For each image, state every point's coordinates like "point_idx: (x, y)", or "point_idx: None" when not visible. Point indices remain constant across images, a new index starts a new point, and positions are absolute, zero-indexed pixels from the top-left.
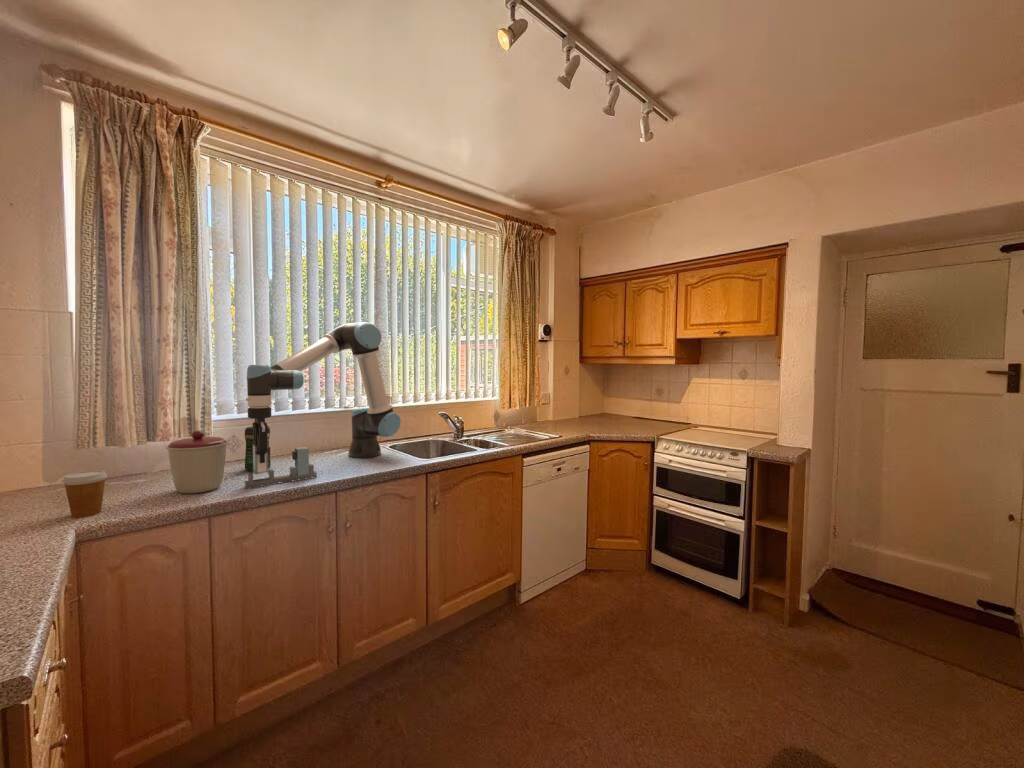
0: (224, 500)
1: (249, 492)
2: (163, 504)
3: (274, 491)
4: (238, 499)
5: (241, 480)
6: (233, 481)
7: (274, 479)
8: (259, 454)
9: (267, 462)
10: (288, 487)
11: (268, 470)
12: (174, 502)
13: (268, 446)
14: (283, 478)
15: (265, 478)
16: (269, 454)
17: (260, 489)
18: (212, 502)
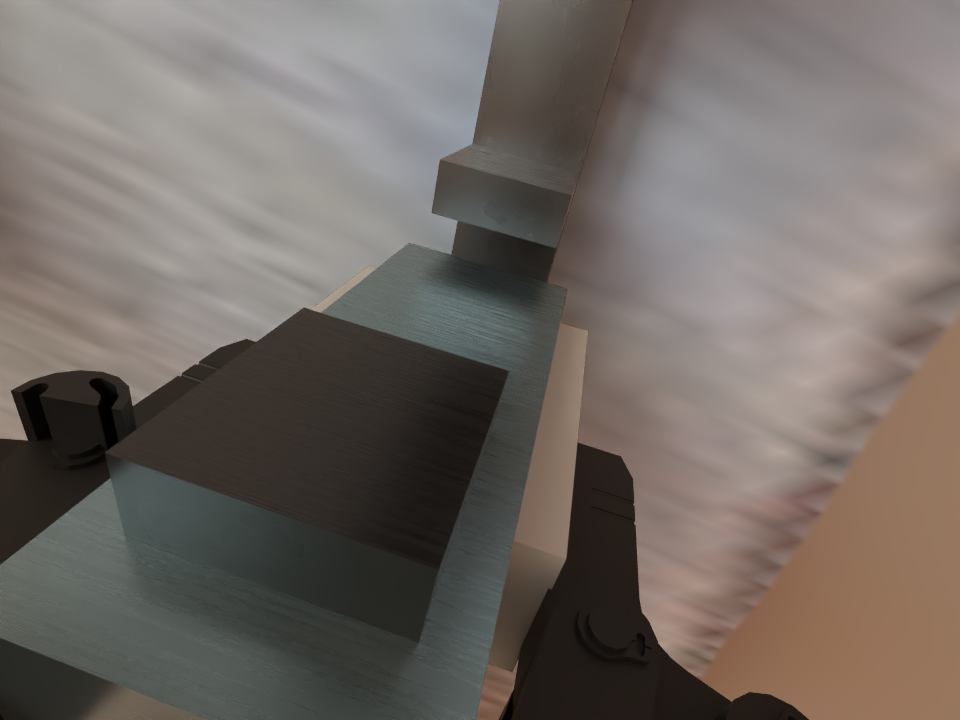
0: (702, 606)
1: (665, 445)
2: (480, 706)
3: (890, 317)
4: (780, 568)
5: (203, 290)
6: (202, 341)
7: (581, 165)
8: (521, 642)
9: (550, 363)
10: (924, 121)
11: (438, 211)
12: (484, 683)
13: (187, 494)
14: (620, 34)
15: (475, 233)
16: (495, 400)
17: (660, 352)
18: (673, 643)
